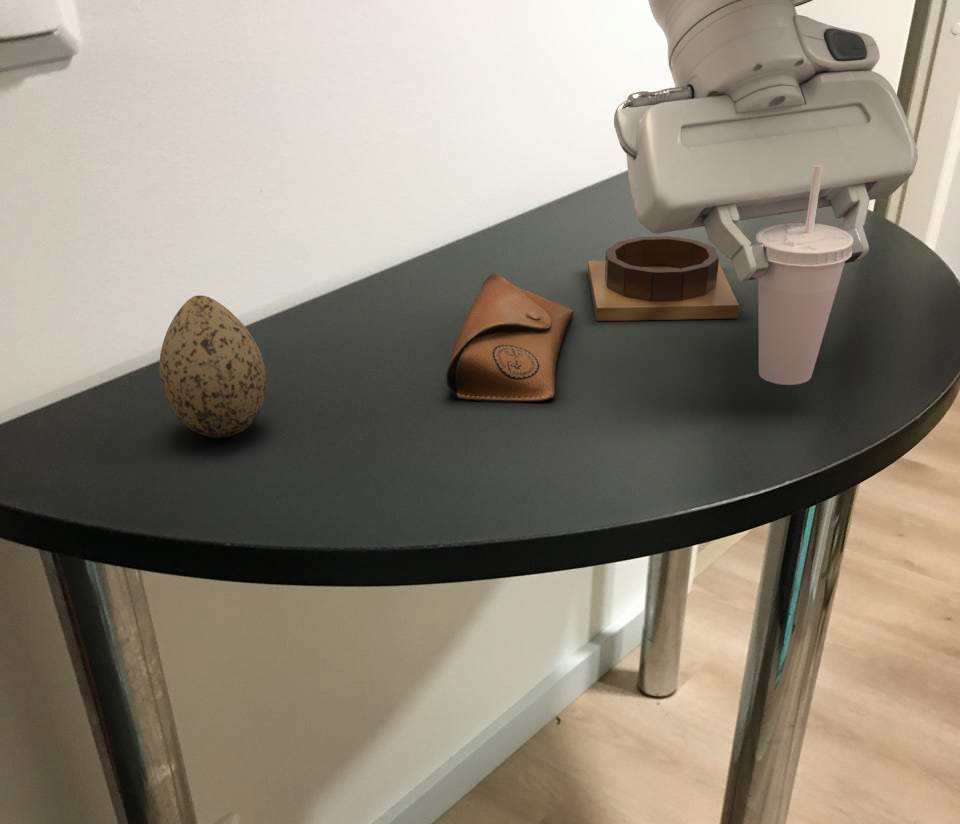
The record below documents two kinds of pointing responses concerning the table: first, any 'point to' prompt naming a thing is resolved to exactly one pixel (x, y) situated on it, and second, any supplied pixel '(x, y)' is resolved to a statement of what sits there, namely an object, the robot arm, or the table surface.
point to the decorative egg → (212, 370)
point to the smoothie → (798, 292)
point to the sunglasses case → (508, 345)
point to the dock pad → (660, 281)
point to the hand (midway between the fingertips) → (805, 267)
